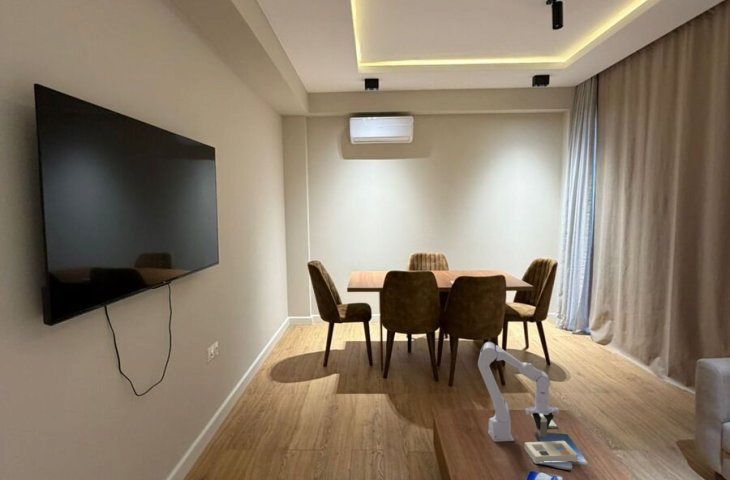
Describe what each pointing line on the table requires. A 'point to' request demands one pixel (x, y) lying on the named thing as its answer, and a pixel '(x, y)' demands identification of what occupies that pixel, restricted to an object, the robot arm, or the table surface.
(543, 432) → the plug
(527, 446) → the socket block
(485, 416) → the table surface
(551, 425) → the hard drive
